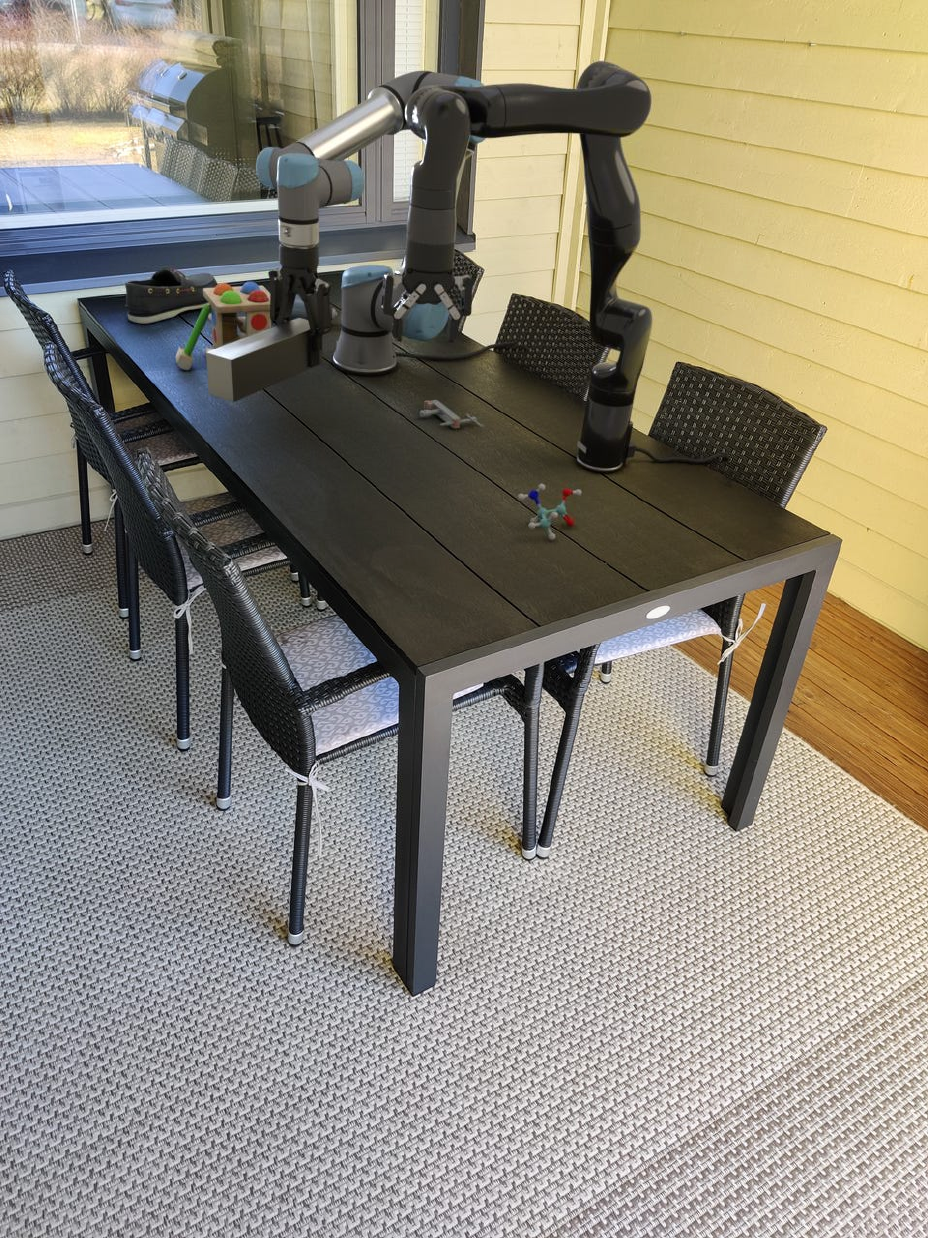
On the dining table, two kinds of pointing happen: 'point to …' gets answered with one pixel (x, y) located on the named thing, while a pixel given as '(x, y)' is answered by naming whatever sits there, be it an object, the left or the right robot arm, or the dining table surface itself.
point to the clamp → (446, 414)
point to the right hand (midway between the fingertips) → (424, 340)
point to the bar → (259, 360)
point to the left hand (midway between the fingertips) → (300, 361)
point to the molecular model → (554, 512)
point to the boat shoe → (166, 295)
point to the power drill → (300, 310)
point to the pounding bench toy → (229, 317)
